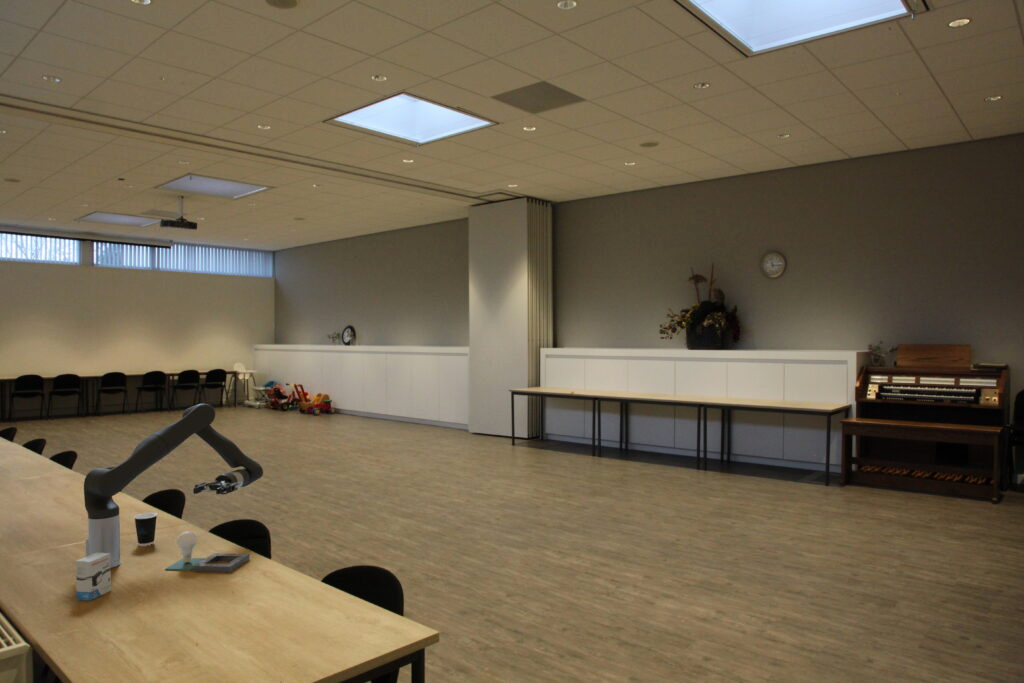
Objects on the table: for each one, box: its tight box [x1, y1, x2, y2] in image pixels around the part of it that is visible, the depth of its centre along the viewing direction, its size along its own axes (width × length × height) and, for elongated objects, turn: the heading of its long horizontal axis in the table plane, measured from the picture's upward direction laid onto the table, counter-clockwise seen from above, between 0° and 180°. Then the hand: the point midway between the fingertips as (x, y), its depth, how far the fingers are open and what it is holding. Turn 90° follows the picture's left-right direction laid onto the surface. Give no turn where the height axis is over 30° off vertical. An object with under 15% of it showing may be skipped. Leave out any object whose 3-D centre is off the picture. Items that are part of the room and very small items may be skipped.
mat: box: [165, 557, 207, 572], centre depth 234 cm, size 9×11×1 cm
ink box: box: [75, 553, 112, 602], centre depth 208 cm, size 8×5×12 cm, turn 168°
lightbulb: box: [176, 530, 198, 564], centre depth 235 cm, size 6×6×11 cm
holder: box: [192, 552, 250, 574], centre depth 233 cm, size 13×13×2 cm
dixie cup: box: [133, 512, 158, 547], centre depth 258 cm, size 8×8×11 cm
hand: (205, 491), depth 246 cm, fingers open, 8 cm apart
